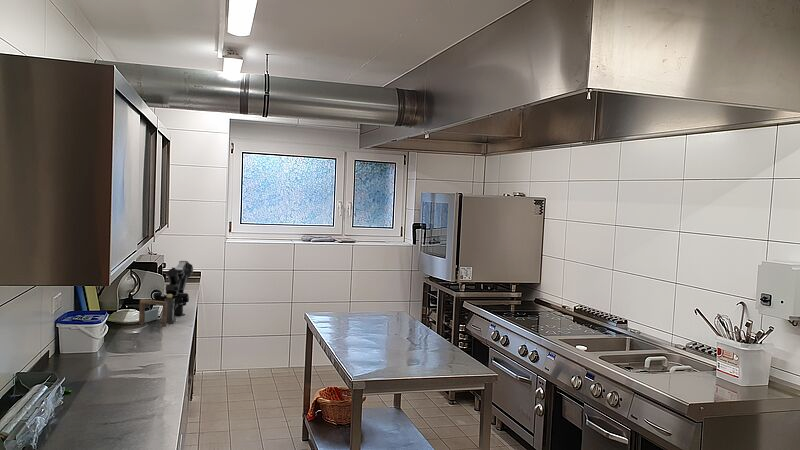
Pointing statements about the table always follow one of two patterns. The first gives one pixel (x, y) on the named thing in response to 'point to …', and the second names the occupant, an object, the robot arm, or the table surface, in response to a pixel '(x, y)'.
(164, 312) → the door frame
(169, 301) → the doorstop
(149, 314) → the door
